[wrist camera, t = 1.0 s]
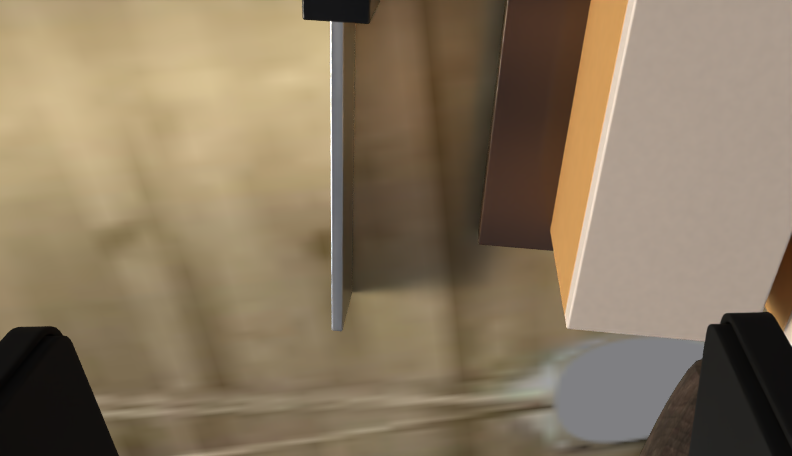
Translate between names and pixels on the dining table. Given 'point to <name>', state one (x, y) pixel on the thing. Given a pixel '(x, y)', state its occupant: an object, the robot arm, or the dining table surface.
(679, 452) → the cleaver
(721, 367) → the robot arm
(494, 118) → the cake board
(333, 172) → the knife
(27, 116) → the dining table surface
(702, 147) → the cake
